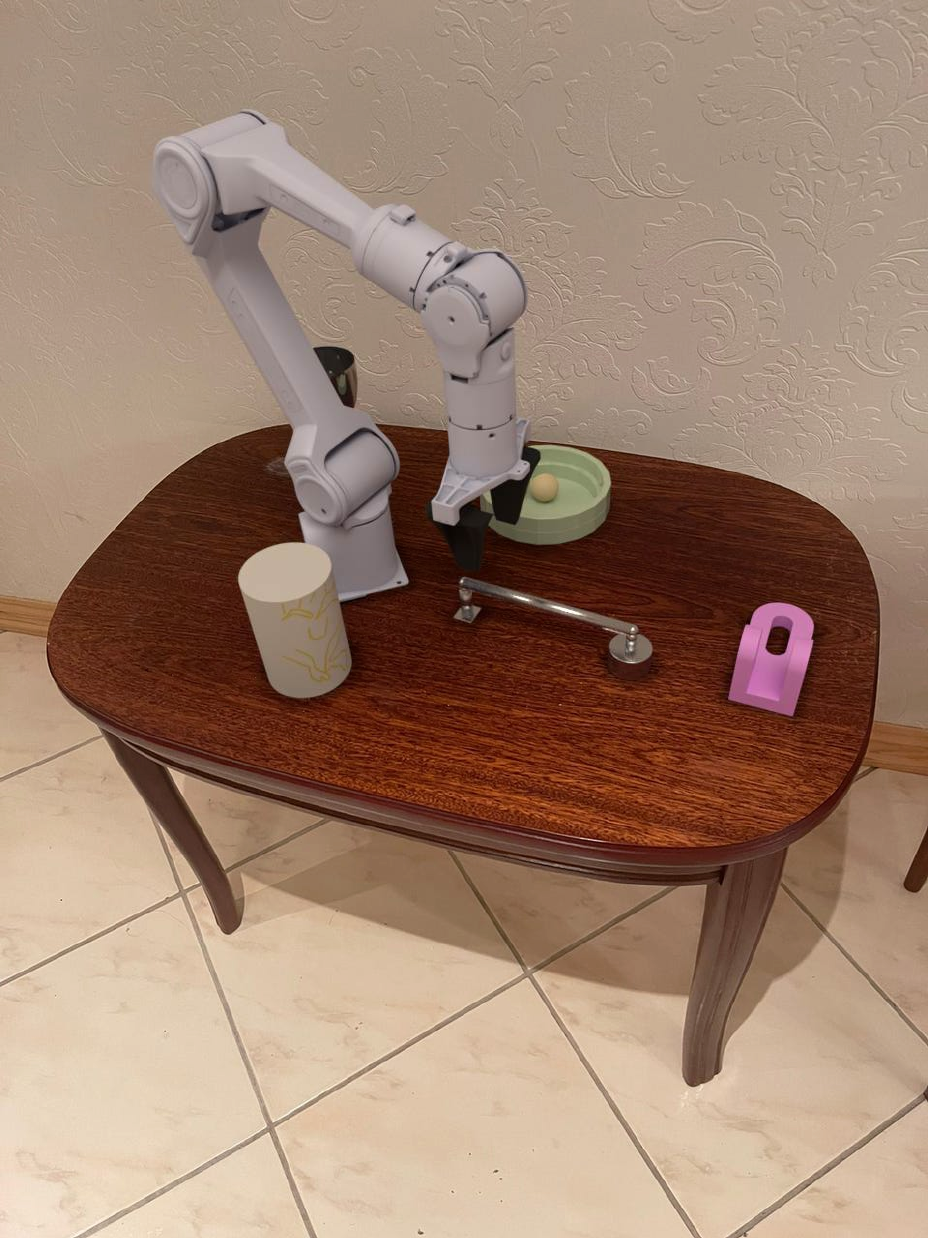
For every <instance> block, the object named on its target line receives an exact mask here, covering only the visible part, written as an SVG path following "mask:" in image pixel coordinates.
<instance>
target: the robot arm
mask: <svg viewBox="0 0 928 1238" xmlns="http://www.w3.org/2000/svg"><path fill="white" fill-rule="evenodd" d="M153 149H154V150H153V153H152V169H151V171H152V173H151V190H152V191H153V192H154V194H155V196H156V198H157V199H158V201H159V203H160V205H161V206H162V208H163V210H164V213H166V216H167V218H169V220H170V222H171V224H172V226H173V227H174V229H175V231H176V233H177V234H178V236H179V238H180V240H181V241H182V244H183V245H184V246H185V248H186V250H187V252H188V253H189V254H190V255H192V256H193V258H194V259H195V261H196V263H197V264H198V266H199V268H200V270H201V271H202V273H203V275H204V276H205V279H206V280H207V282H208V283H209V285H210V287H211V289H212V291H213V292H214V294H215V296H216V298H217V300H218V301H219V304H221V306H222V308H223V310H224V312H225V313H226V316H227V317H228V319H229V320H230V322H231V324H232V326H233V328H234V329H235V331H236V332H237V334H238V336H239V338H240V340H241V341H242V343H243V345H244V347H245V349H246V350H247V353H249V355H250V357H251V359H252V361H253V362H254V364H255V366H256V367H257V370H258V371H259V373H260V374H261V376H262V378H263V380H264V382H265V383H266V385H267V388H268V389H269V390H270V392H271V394H272V396H273V398H274V399H275V401H276V403H277V405H278V406H279V408H280V410H281V411H282V413H283V415H284V416H285V418H286V420H287V423H288V424H289V425H290V427H291V429H292V434H291V435H292V436H291V439H290V441H289V445H288V448H287V450H286V451H287V452H286V455H285V458H284V461H283V464H284V466H285V468H286V470H287V472H288V474H289V475H290V477H291V480H292V483H293V487H294V492H295V495H296V499H297V501H298V503H299V504H300V506H301V507H302V509H303V510H304V511H302V512H299V513H297V515H298V519H299V524H300V528H301V529H300V530H301V533H302V537H303V540H304V543H306V544H311V545H314V546H316V547H318V548H320V549H322V550H323V551H324V552H325V553H326V554H327V555H328V556H329V558H330V561H331V565H332V570H333V574H334V579H335V584H336V589H337V593H338V598H339V603H342V602H347V601H352V600H355V599H360V598H364V597H367V595H370V594H374V593H378V592H383V591H387V590H391V589H395V588H396V589H397V588H400V587H404V586H407V585H409V583H410V582H409V579H408V576H407V573H406V571H405V568H404V566H403V563H402V560H401V558H400V555H399V553H398V550H397V548H396V541H395V536H394V528H393V522H392V515H391V508H390V502H389V497H390V495H391V494H392V492H393V491H392V482H393V481H394V480H396V478H397V477H398V475H399V474H400V470H401V462H400V458H399V457H400V456H399V454H398V452H397V450H396V448H395V445H394V444H393V443H392V441H391V440H390V439H389V438H388V437H387V436H386V435H385V434H384V433H383V432H382V431H381V429H380V428H378V426H377V425H376V423H375V421H374V420H373V417H372V416H371V414H370V413H369V412H367V411H365V410H362V409H358V408H355V407H354V408H350V407H347V406H344V405H343V404H342V402H341V400H340V398H339V396H338V394H337V392H336V391H335V389H334V387H333V385H332V383H331V381H330V379H329V378H328V376H327V374H326V372H325V370H324V368H323V366H322V364H321V363H320V361H319V359H318V357H317V355H316V353H315V351H314V350H313V348H314V347H313V346H312V344H311V342H310V341H309V338H308V336H307V335H306V333H305V331H304V330H303V327H302V325H301V323H300V322H299V320H298V318H297V316H296V314H295V312H294V311H293V308H292V307H291V305H290V303H289V301H288V299H287V298H286V296H285V294H284V292H283V290H282V288H281V287H280V285H279V283H278V281H277V279H276V277H275V276H274V273H273V271H272V270H271V268H270V266H269V264H268V262H267V261H266V258H265V257H264V255H263V253H262V251H261V250H260V247H259V240H260V236H261V230H262V225H263V223H264V222H265V220H266V218H267V216H268V214H269V212H270V211H271V209H272V208H274V209H276V210H277V211H279V212H281V213H283V214H284V215H286V216H288V217H290V218H291V219H294V220H295V221H297V222H298V223H301V224H303V225H304V226H305V227H308V228H310V229H312V230H313V231H316V232H317V233H319V234H321V235H323V236H324V237H326V238H328V239H330V240H331V241H333V242H335V243H337V244H339V245H341V246H342V247H344V248H346V249H347V250H350V254H351V257H352V262H353V266H354V268H355V270H356V273H358V274H359V275H360V276H361V277H363V278H365V280H368V281H369V282H371V283H372V284H374V285H375V286H376V287H378V288H380V289H381V290H382V291H384V292H386V293H387V294H388V295H390V296H392V297H393V298H395V299H396V300H398V301H399V302H401V303H402V304H404V305H405V306H407V307H408V308H410V309H412V310H413V311H414V312H416V313H417V314H419V315H420V317H421V321H422V325H423V327H424V330H425V331H426V333H427V335H428V337H429V339H431V341H432V343H433V344H434V346H435V349H436V353H437V354H436V355H437V363H438V364H439V365H440V366H441V370H442V377H443V387H444V400H445V411H446V412H445V413H446V424H447V437H448V449H449V450H448V451H449V455H448V458H447V461H446V465H445V467H444V472H443V474H442V478H441V482H440V486H439V489H438V491H437V493H436V494H435V495H434V496H433V497H432V498H431V499H430V500H429V501H428V502H427V503H426V505H425V514H426V518H427V520H429V521H430V522H431V523H432V524H433V525H434V527H435V528H436V529H437V530H438V531H439V533H440V534H441V536H442V537H443V538H444V540H445V542H446V544H447V546H448V548H449V550H450V552H451V554H452V557H453V560H454V562H455V564H456V566H457V568H458V569H459V570H460V569H461V570H463V571H467V572H471V573H473V574H478V573H479V572H480V570H481V568H482V565H483V562H484V561H483V559H484V546H485V545H484V544H485V538H486V534H487V531H488V527H489V526H488V525H489V522H490V520H491V518H492V517H493V515H494V516H495V518H496V520H497V521H501V522H505V523H508V524H512V525H516V524H517V522H518V520H519V517H520V514H521V510H522V506H523V501H524V497H525V493H526V490H527V487H528V484H529V481H530V478H531V476H532V474H533V472H534V470H535V468H536V466H537V464H538V463H539V461H540V459H541V453H540V451H539V450H537V449H535V448H531V447H529V446H526V444H527V443H528V442H530V440H531V439H532V420H531V419H528V418H523V417H518V416H517V385H516V380H517V379H516V340H515V339H516V335H515V327H512V326H513V325H514V324H516V322H517V321H518V320H519V319H520V318H521V317H522V316H523V314H524V313H525V311H526V309H527V305H528V302H529V290H528V284H527V281H526V279H525V276H524V274H523V271H522V270H521V269H520V267H519V266H518V264H517V263H516V262H515V261H514V260H513V259H512V258H510V257H508V256H507V255H506V254H505V252H504V251H503V250H501V249H498V248H493V247H486V248H481V249H478V250H477V249H473V248H471V247H470V246H466V245H464V244H462V243H461V242H459V241H458V240H457V241H454V240H453V239H450V238H449V237H447V236H446V235H444V234H442V233H441V232H440V231H438V230H437V229H435V228H434V227H432V226H430V225H428V224H427V223H425V222H424V221H422V220H421V219H419V218H418V217H417V210H415V209H413V208H412V207H410V206H408V205H407V204H405V203H403V204H400V205H397V204H395V203H387V204H383V205H381V206H379V207H377V208H372V207H371V206H370V205H369V204H367V203H366V201H364V200H362V199H361V198H360V197H358V196H356V195H355V193H353V192H352V191H350V190H349V189H347V188H346V187H345V186H344V185H342V184H341V183H340V182H338V181H337V180H336V179H334V178H333V177H332V176H330V175H329V174H328V173H326V172H325V171H324V170H322V169H321V168H319V167H318V166H317V165H316V164H315V163H313V162H312V161H311V160H310V159H308V158H307V157H305V156H304V155H303V154H301V153H300V152H299V151H297V150H296V149H295V148H294V147H293V145H292V142H291V140H290V137H289V135H288V132H287V131H286V129H285V127H283V126H282V125H280V124H277V123H275V122H273V121H271V120H270V119H269V118H268V117H267V116H266V115H264V114H263V113H261V112H259V111H257V110H256V109H251V108H243V109H241V110H239V111H237V112H234V113H233V114H232V115H231V116H228V117H225V118H222V119H220V120H217V121H213V122H212V123H209V124H206V125H203V126H201V127H198V128H194V129H193V130H190V131H186V132H184V133H181V134H178V135H175V136H174V135H170V136H169V135H168V136H167V137H163V138H162V139H160V140H159V141H158V142H157V144H156V145H155V146H154V148H153ZM489 490H490V493H491V500H492V507H493V512H494V514H492V513H488V512H484V511H481V509H477V505H476V504H473V500H475V499H477V498H478V497H479V498H480V495H482V494H484V493H486V492H487V491H489Z"/></svg>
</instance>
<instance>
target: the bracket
mask: <svg viewBox="0 0 928 1238" xmlns="http://www.w3.org/2000/svg"><path fill="white" fill-rule="evenodd" d="M775 627H781V628H784V629H786V630H788V631H789V638H788V643H787V647H786V649H785V652H784V653H782V654H780V655H778V654H772V653H770V652H769V651H768V650H767V648H766V647H767V643H768V640H769V636H770V634H771V633H770V632H771V630H772V629H773V628H775ZM814 629H815V624H814V621H813V619H812V617H811V616H810V614H808V613H807V612H806V611H805V610H804V609H802V608H801V607H798V606H796V605H793V604H790V603H785V602H770V603H769V602H768V603H765V604H763V605H761V606H759V607H757V609H756V610H755V611H754V612H753V614H752V617H751V620H750V624H745V626H744V629H743V633H742V635H741V640H740V642H739V643H740V644H739V648H738V651H737V655H736V660H735V664H734V670H733V674H732V679H731V684H730V687H729V688H730V689H729V693H728V698H727V699H728V700H729V701H733V702H736V703H740V704H743V705H748V706H751V707H755V708H759V709H762V710H767V711H770V712H775V713H778V714H780V715H781V714H782V715H785V716H788V717H794V714H795V710H796V707H797V703H798V700H799V696H800V692H801V690H802V685H803V682H804V679H805V675H806V672H807V669H808V666H809V665H808V664H809V660H810V656H811V653H812V648H813V644H814V640H813V639H812V637H813V634H814Z"/></svg>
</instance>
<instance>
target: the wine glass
mask: <svg viewBox="0 0 928 1238" xmlns="http://www.w3.org/2000/svg"><path fill="white" fill-rule="evenodd" d="M312 348H313V350H314V351H315V353H316V355H317V357H318V359H319V361H320V363H321V364H322V366H323V368H324V370H325V372H326V374H327V376H328V378H329V379H330V381H331V383H332V385H333V387H334V389H335V391H336V392H337V394H338V396H339V398H340V400H341V402H342V404H343V405H344V406H347V407H350V408H354V409H355V407H356V405H357V399H358V388H359V387H358V385H359V384H358V383H359V381H358V379H359V378H358V370H357V363H356V359H355V356H354V355H355V354H354V353H353V352H351V350H348V349H346V348H343V347H339V346H331V345H330V346H328V345H325V346H324V345H323V346H315V347H312Z"/></svg>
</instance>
